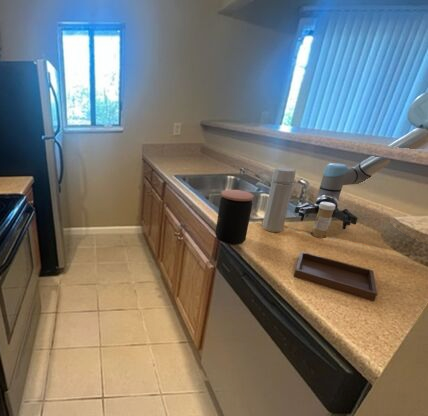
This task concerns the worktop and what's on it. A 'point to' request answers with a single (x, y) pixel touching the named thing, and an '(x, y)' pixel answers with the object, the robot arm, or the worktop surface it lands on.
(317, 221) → the sprinkles bottle
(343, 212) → the robot arm
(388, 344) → the worktop surface
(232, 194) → the coffee jar
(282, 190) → the grey thermos flask
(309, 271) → the tray
